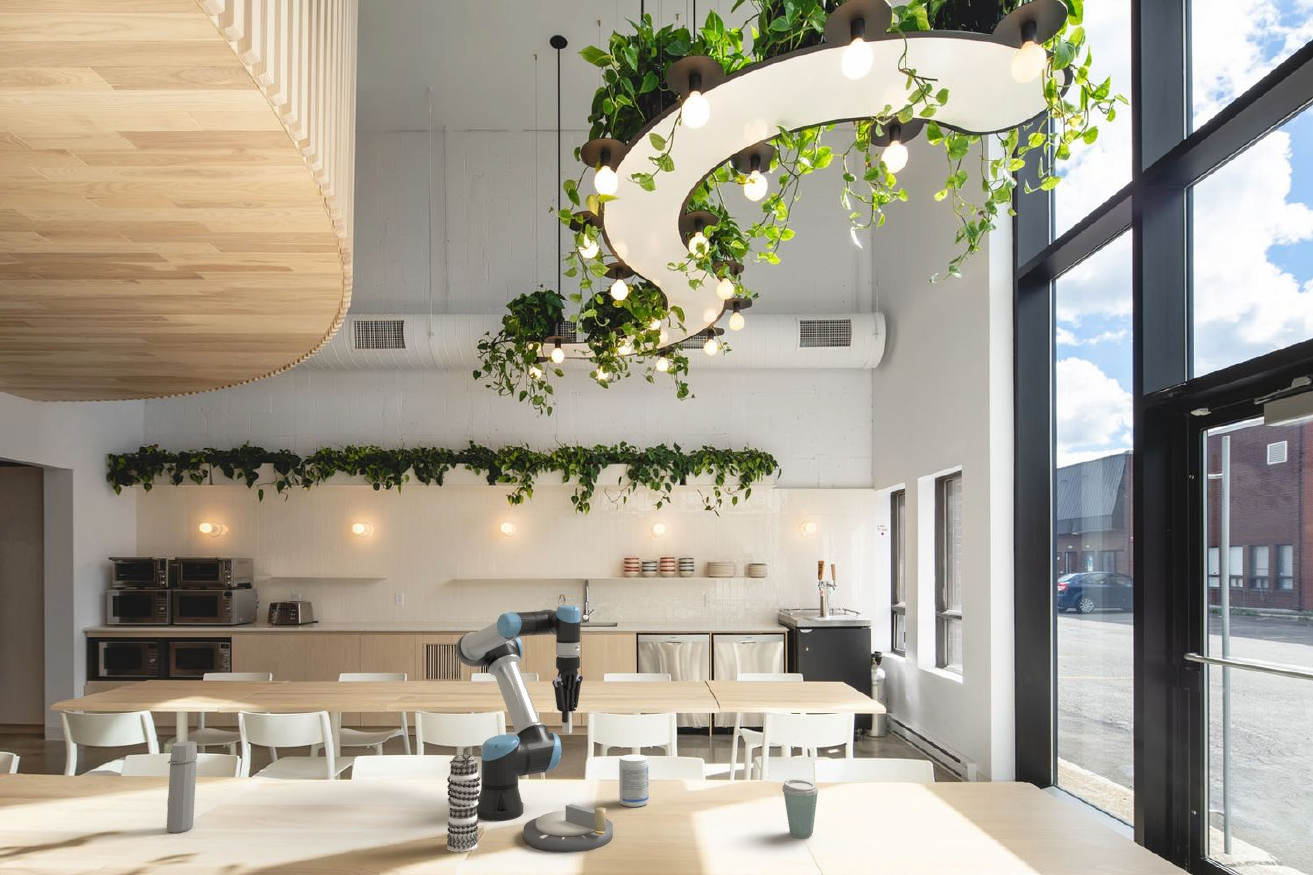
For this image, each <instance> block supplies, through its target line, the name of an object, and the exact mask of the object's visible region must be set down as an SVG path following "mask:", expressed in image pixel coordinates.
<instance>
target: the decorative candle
mask: <svg viewBox="0 0 1313 875" xmlns="http://www.w3.org/2000/svg"><path fill="white" fill-rule="evenodd" d="M478 763H479V759H476V757H475V755H473V754H470V753H469V754H468V753H465V754H464V753H463V754H457V755H455V756H454V757H453V759H452V760H450V761H449V764H450V773H449V775H448V777H447V780H446V781H447V782H448V784H447V789H448V790H447V795H448V796H449V797H448V798H447V801H448V804H447V806H448V807H449V814H448V822H447V832H448V834H446V837H447V841H446V843H447V846H446V849H447V850H448V851H449V850H451V851H460V852H459V853H464V852H463V851H468V852H470V851H469V850H472V851H475V850H476V849H477V848H478V842H479V840H478V837H479V836H478V835H479V833H478V829H479V826H478V823H479V820H478V817H477V812H476V811H477V805H478V799H479V795H478V794H480V790H479V789H477V788H478V787H481V783H480V782H479V781H481V776H480V777H479V771H478ZM451 851H450V852H451Z"/></svg>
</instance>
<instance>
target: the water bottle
mask: <svg viewBox="0 0 1313 875" xmlns="http://www.w3.org/2000/svg"><path fill="white" fill-rule="evenodd" d="M197 746H198V745H197V741H194V740H193V741H191V740H188V741H179V742H175V743H173V744H172V747H171V754H170V760H169V761H167V764H169V776H168V777H169V780H168V795H167V815H166V831H167V832H169V833H172V834H173V833H175V834H178V833H184V832H187V831H189V830H191V829H192V828H193V826H194V816H195V814H194V813H195V800H196V799H195V797H196V776H197V759H198V749H197V748H198V747H197Z"/></svg>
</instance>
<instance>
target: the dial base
mask: <svg viewBox="0 0 1313 875" xmlns="http://www.w3.org/2000/svg"><path fill="white" fill-rule="evenodd" d="M537 818H538V817H535V818H533V819H531V820H529V821H527V822H526V823H525V824H524V826H523V837H522V838H524V839H523V842H524V843H525V844H526V845H527V846H528V845H529V846H528V847H531V848H533V849H535V850H539V851H543V852H551V853H577V852H579V853H580V852H585V851H590V850H595V849H599V848H601V847H604V846H605V845H607V844H609V843H610V842H611V841H613V838H614V836H613V834H614V833H613V830H614V824H613V823H612V821H611V820H609V819H608V818H606V830H605V831H602V832H598V831H594V832H592V833H588V834H584V835H578V836H553V835H548V834H544V833H541V832H539V831H538V830H537V829H536V819H537ZM612 837H613V838H612Z"/></svg>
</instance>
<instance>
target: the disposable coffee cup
mask: <svg viewBox="0 0 1313 875" xmlns="http://www.w3.org/2000/svg"><path fill="white" fill-rule="evenodd" d="M782 792H783V796H784V797H783V798H784V801H785V809H786V817H787V822H788V823H787V824H788V829H789V833H790V836H792V837H794V838H798V839H806V838H811V837H812V835H813V832H814V826H815V816H816V810H817V809H816V807H817V802H818V801H817V800H818V793H819V789H818V786H817V785H816V783H814V782H811V781H809V780H805V779H798V778H790V779H786V780H785V781H784V783H783V785H782Z"/></svg>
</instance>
